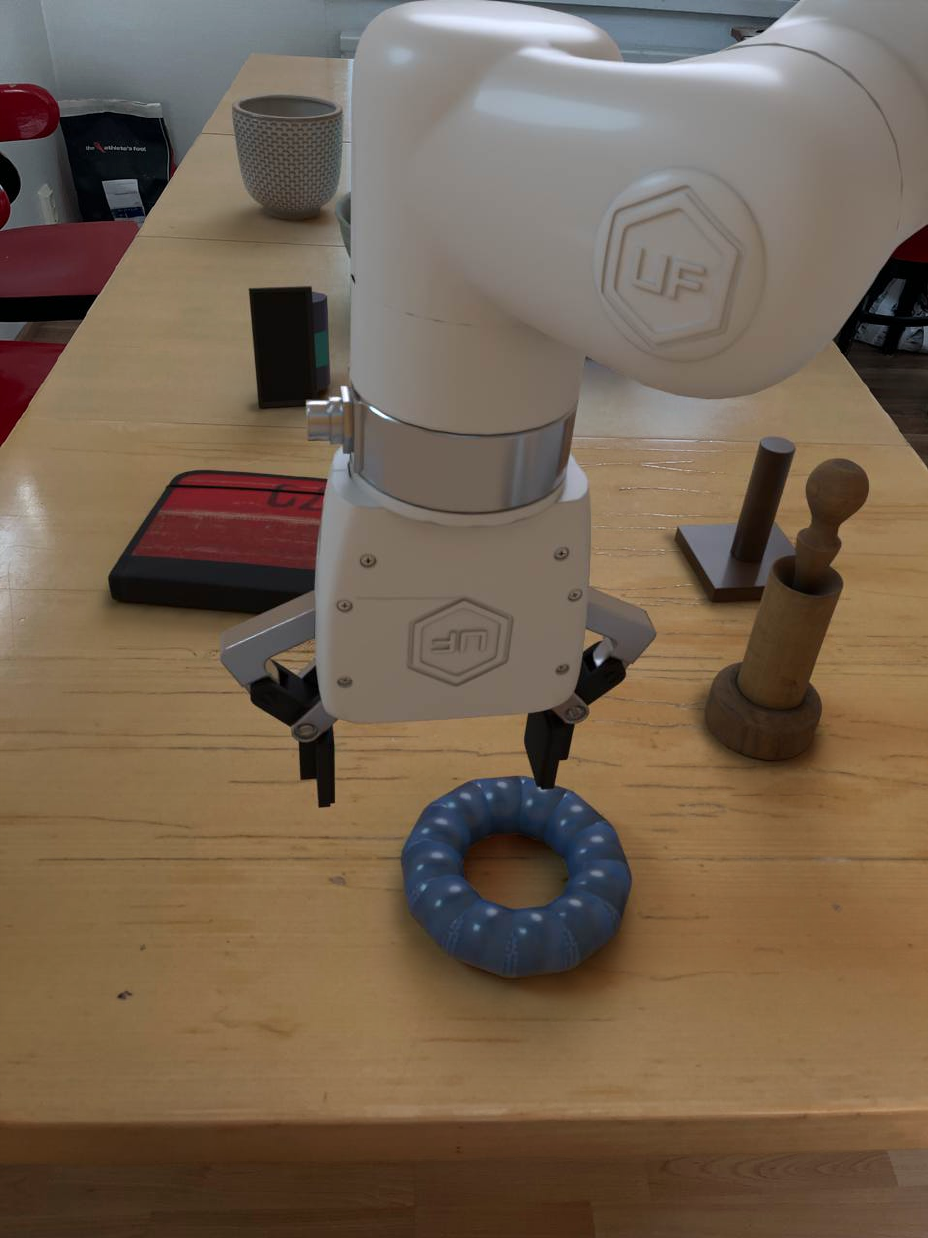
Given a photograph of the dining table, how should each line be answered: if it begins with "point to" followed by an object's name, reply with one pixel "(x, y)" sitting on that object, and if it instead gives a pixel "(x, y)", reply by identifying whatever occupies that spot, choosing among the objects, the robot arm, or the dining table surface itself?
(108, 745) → the dining table surface
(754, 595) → the stand
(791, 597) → the mortar and pestle
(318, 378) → the speaker
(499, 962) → the blue ring
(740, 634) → the dining table surface
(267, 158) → the planter
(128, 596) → the ink pad
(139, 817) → the dining table surface
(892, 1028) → the dining table surface
